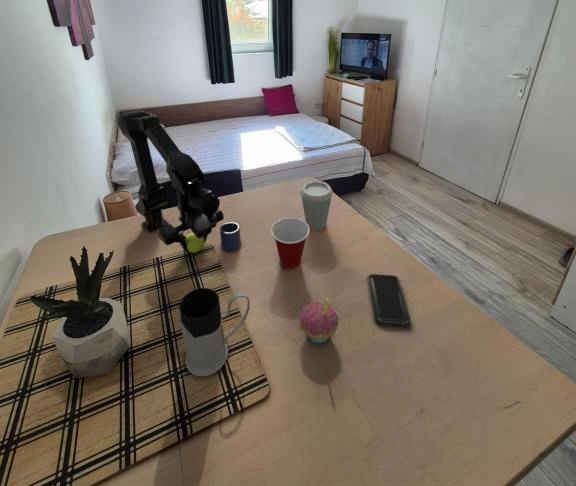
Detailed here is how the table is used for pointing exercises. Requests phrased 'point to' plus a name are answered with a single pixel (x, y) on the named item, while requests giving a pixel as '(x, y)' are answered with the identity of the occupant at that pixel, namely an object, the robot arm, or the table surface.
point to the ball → (194, 243)
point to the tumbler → (230, 237)
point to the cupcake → (318, 321)
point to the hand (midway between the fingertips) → (195, 247)
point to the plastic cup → (290, 240)
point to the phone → (388, 300)
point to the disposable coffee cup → (316, 203)
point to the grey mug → (205, 330)
